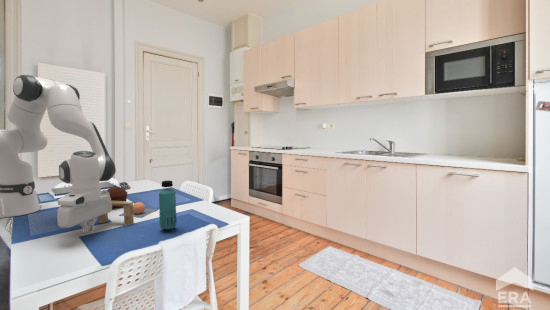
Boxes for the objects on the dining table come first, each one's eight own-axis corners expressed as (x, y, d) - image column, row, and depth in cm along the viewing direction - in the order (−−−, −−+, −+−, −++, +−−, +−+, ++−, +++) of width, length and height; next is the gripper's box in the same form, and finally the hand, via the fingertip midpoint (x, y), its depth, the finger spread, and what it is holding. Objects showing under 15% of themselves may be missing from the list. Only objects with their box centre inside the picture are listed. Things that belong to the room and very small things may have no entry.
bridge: (128, 225, 110) (127, 203, 109) (98, 222, 112) (97, 201, 112) (133, 222, 113) (132, 201, 112) (104, 220, 115) (103, 199, 115)
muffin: (104, 204, 139) (104, 186, 138) (128, 202, 144) (128, 184, 143) (100, 211, 128) (100, 191, 127) (126, 208, 133) (126, 189, 132)
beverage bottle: (166, 234, 101) (165, 183, 99) (155, 230, 105) (154, 181, 103) (180, 229, 107) (179, 180, 105) (169, 225, 110) (168, 178, 108)
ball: (140, 205, 129) (135, 215, 126) (132, 200, 125) (127, 210, 122) (149, 205, 128) (144, 216, 125) (142, 200, 124) (137, 211, 120)
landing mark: (118, 215, 122) (118, 215, 122) (136, 208, 134) (136, 207, 134) (141, 217, 120) (141, 217, 120) (157, 209, 132) (157, 209, 132)
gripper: (102, 188, 109) (103, 221, 110) (52, 201, 89) (55, 241, 90) (115, 189, 108) (116, 222, 109) (68, 202, 88) (70, 242, 89)
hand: (88, 230), depth 99 cm, fingers closed
